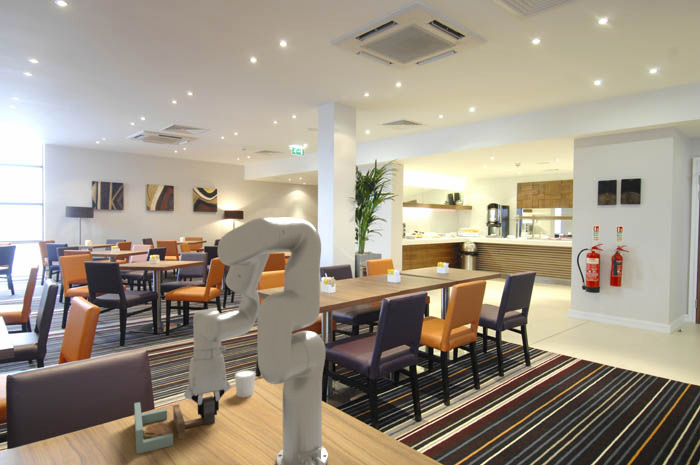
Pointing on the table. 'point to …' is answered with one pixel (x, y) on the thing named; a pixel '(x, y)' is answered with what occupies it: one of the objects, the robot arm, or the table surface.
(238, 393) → the shot glass
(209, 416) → the wall doorstop
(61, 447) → the table surface
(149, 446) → the bracket
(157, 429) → the shard
